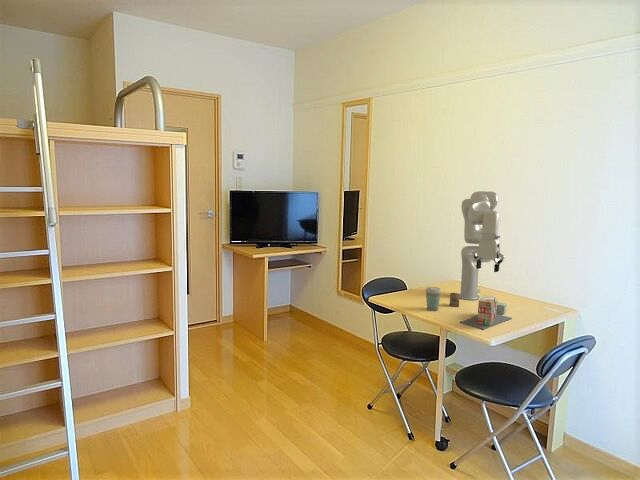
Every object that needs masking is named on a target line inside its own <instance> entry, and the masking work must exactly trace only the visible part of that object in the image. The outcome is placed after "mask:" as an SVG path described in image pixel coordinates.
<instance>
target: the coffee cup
mask: <svg viewBox="0 0 640 480" xmlns="http://www.w3.org/2000/svg"><path fill="white" fill-rule="evenodd" d="M441 294H442V289H441V288H440V287H437V286H427V287H426V289H425V297H426V310H427V311H430V312H431V311H432V312H437V311H439V306H440V301H441Z"/></svg>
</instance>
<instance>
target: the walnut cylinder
mask: <svg viewBox="0 0 640 480" xmlns="http://www.w3.org/2000/svg"><path fill="white" fill-rule="evenodd" d="M459 294H460V293H459V292H450V294H449V296H450V297H449V306H450V307H451V306H452V308H458V307H459V306H460V298H459Z"/></svg>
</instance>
